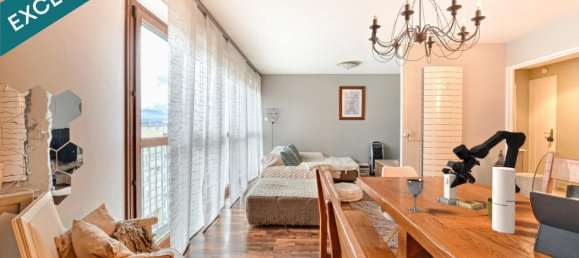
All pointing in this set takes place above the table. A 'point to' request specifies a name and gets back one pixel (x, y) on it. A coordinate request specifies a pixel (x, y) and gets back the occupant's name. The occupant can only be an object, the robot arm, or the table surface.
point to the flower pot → (489, 207)
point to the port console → (462, 203)
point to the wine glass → (415, 191)
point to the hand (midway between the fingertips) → (447, 186)
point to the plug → (449, 192)
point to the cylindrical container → (503, 200)
